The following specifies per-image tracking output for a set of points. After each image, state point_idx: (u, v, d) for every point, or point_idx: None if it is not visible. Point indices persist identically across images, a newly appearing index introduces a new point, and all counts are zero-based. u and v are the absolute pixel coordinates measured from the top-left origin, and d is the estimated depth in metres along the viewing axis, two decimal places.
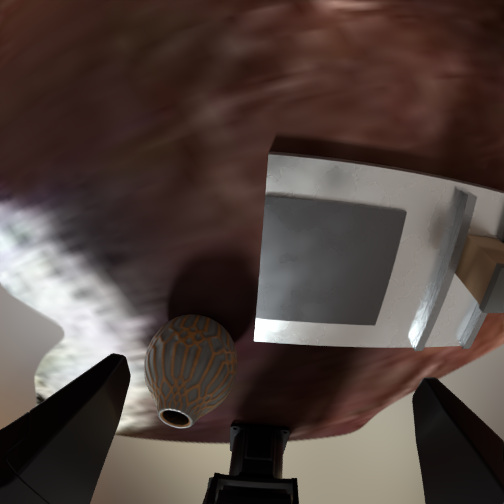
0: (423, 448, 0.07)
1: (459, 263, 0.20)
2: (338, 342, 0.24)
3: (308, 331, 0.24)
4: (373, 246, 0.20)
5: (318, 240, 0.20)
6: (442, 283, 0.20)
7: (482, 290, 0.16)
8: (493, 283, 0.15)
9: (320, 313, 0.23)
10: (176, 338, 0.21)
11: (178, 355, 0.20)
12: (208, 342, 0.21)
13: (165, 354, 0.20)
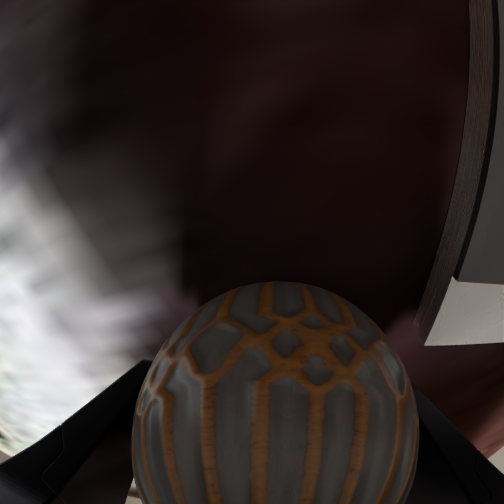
0: None
1: None
2: None
3: None
4: None
5: None
6: None
7: None
8: None
9: None
10: (260, 360, 0.05)
11: (283, 436, 0.04)
12: (377, 364, 0.05)
13: (219, 433, 0.04)
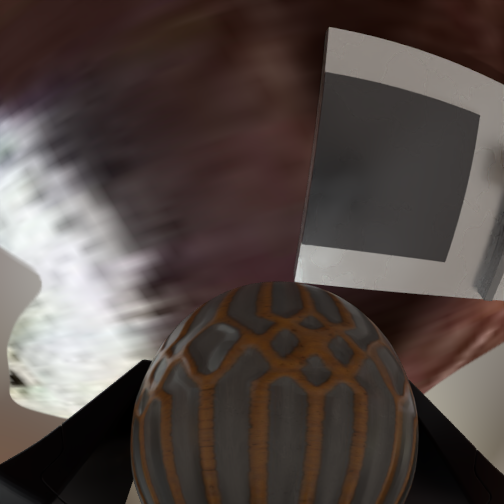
0: None
1: None
2: (400, 286, 0.18)
3: (366, 268, 0.18)
4: (448, 151, 0.14)
5: (387, 134, 0.14)
6: None
7: None
8: None
9: (385, 239, 0.17)
10: (259, 361, 0.05)
11: (283, 438, 0.04)
12: (376, 364, 0.05)
13: (218, 434, 0.04)
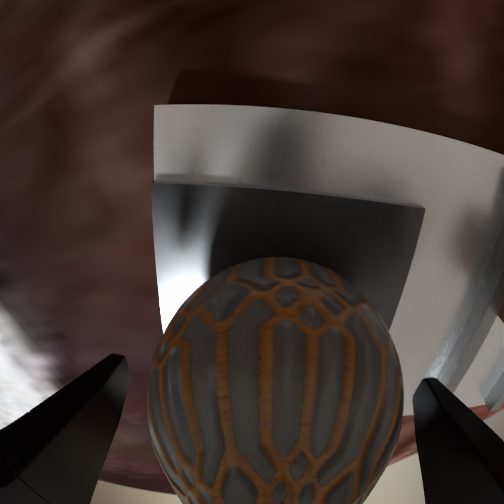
0: (423, 448, 0.07)
1: None
2: None
3: None
4: (361, 273, 0.11)
5: None
6: (476, 331, 0.11)
7: None
8: None
9: None
10: (265, 309, 0.06)
11: (285, 367, 0.05)
12: (362, 318, 0.07)
13: (232, 366, 0.05)
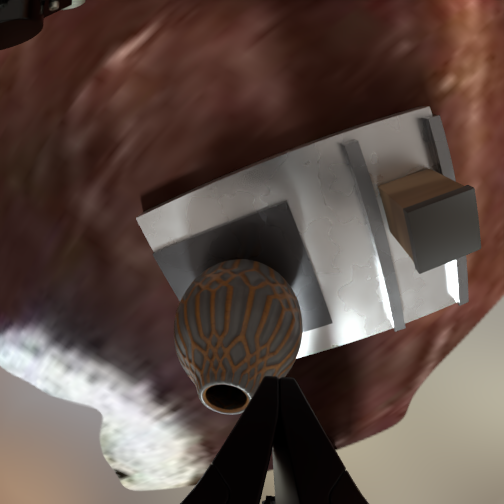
0: (274, 455, 0.07)
1: (389, 221, 0.18)
2: (307, 351, 0.23)
3: None
4: (273, 251, 0.19)
5: None
6: (378, 252, 0.18)
7: (410, 246, 0.14)
8: (411, 235, 0.13)
9: None
10: (198, 288, 0.16)
11: (203, 306, 0.14)
12: (241, 277, 0.15)
13: (188, 313, 0.15)
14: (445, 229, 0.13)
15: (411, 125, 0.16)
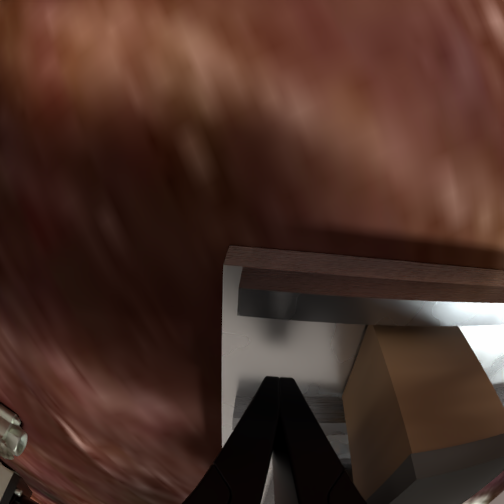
0: (273, 455, 0.07)
1: None
2: None
3: None
4: None
5: None
6: None
7: None
8: None
9: None
10: None
11: None
12: None
13: None
14: (430, 502, 0.05)
15: (249, 316, 0.09)
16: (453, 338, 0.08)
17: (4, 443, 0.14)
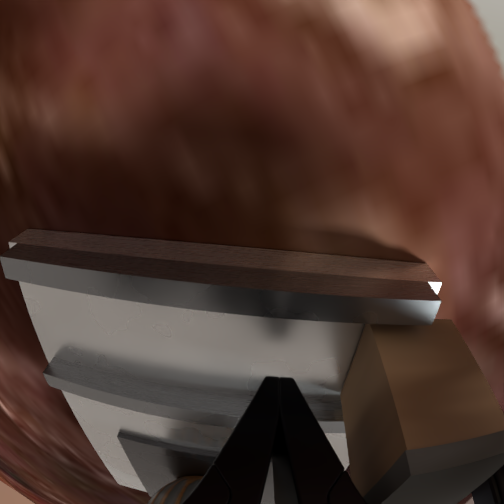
0: (273, 455, 0.07)
1: None
2: None
3: None
4: (171, 464, 0.14)
5: None
6: (201, 422, 0.10)
7: None
8: None
9: (273, 493, 0.14)
10: None
11: None
12: None
13: None
14: (426, 500, 0.05)
15: (32, 284, 0.09)
16: (450, 337, 0.08)
17: None
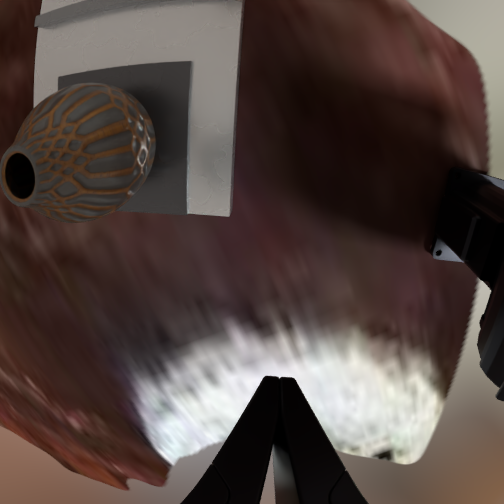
0: (274, 455, 0.07)
1: None
2: (227, 103, 0.16)
3: (207, 147, 0.17)
4: None
5: None
6: (119, 2, 0.13)
7: None
8: None
9: (172, 138, 0.17)
10: None
11: None
12: None
13: None
14: None
15: None
16: None
17: None
